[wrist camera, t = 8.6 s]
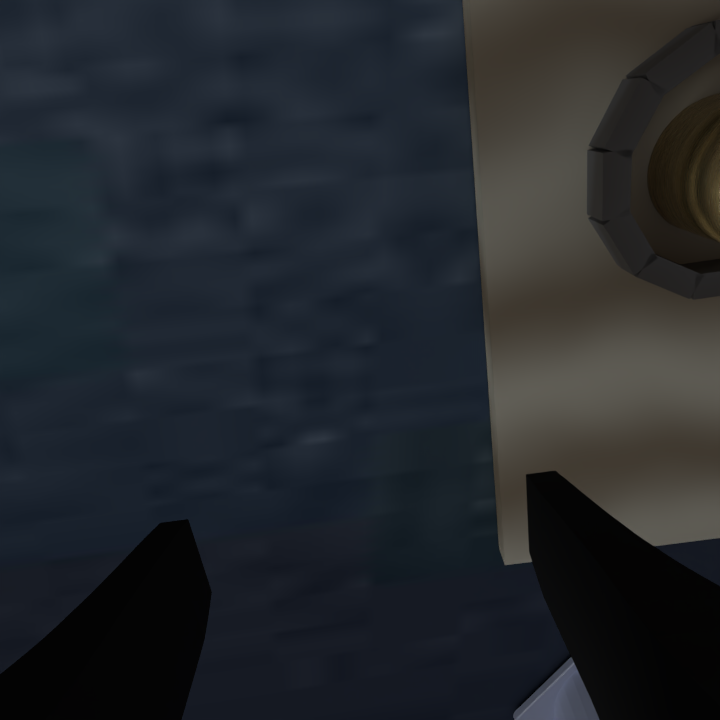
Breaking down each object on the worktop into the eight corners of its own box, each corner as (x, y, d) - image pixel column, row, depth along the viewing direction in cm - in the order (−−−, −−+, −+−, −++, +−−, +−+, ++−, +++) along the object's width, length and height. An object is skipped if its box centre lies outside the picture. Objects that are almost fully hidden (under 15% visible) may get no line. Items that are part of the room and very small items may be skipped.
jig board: (841, 504, 24) (886, 540, 22) (499, 548, 25) (512, 587, 23) (967, -86, 16) (1056, -114, 14) (462, -3, 17) (478, -18, 15)
